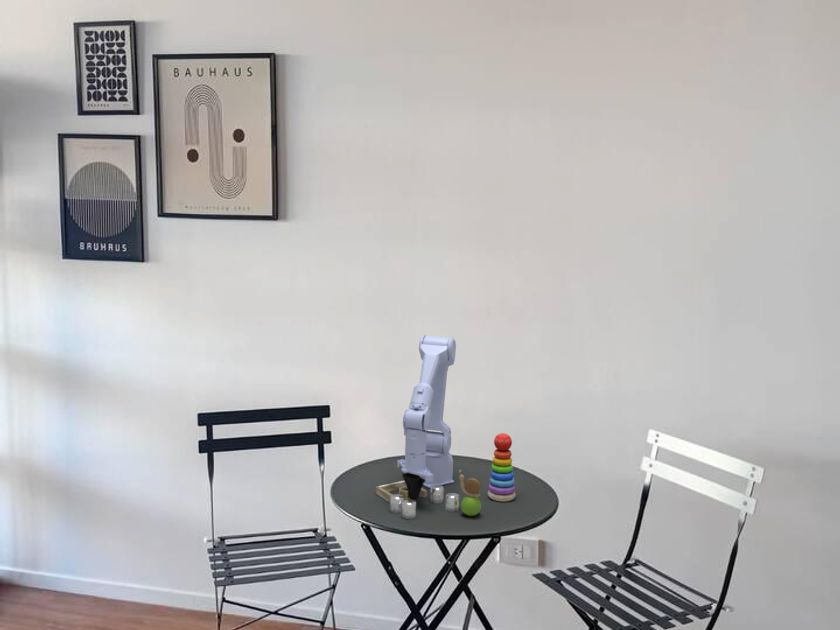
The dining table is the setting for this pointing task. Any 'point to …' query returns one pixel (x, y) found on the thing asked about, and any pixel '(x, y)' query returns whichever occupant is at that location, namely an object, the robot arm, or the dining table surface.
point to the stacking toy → (502, 470)
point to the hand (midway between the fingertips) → (414, 498)
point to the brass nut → (404, 492)
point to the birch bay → (385, 489)
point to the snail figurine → (470, 495)
